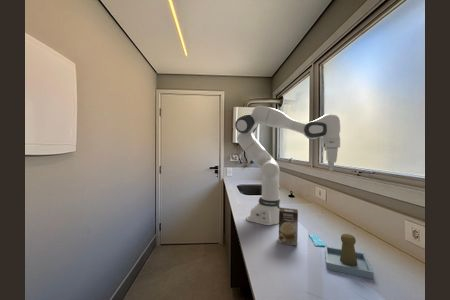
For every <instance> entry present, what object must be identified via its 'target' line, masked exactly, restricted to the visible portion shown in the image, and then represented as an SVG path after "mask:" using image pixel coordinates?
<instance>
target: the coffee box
mask: <svg viewBox="0 0 450 300" xmlns="http://www.w3.org/2000/svg"><path fill="white" fill-rule="evenodd" d="M298 222H299V211H298V209H296V208H290V207H289V208H288V207H281V206H280V209H279V224H278V243H279V244H285V245H291V246H292V245H293V246H298V239H299V238H298V233H299V232H298V229H299V227H298V226H299V223H298Z"/></svg>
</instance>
